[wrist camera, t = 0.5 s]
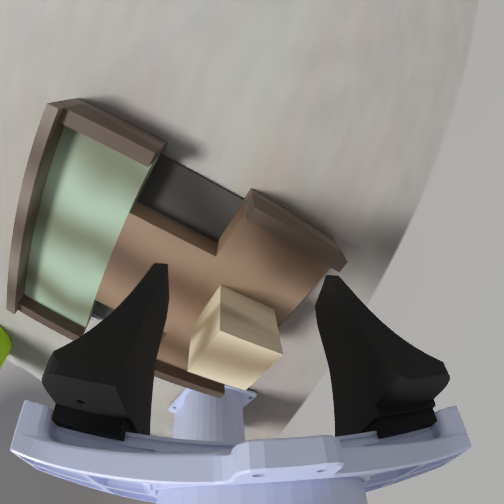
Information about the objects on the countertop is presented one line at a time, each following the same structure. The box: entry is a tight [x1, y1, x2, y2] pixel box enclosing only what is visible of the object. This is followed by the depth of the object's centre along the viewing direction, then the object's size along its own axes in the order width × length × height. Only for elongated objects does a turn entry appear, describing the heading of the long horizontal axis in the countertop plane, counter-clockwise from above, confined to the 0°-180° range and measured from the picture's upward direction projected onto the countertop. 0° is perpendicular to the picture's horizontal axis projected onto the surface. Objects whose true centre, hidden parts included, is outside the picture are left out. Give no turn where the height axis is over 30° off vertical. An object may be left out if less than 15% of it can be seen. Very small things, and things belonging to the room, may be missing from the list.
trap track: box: [7, 98, 347, 398], centre depth 23 cm, size 19×23×4 cm
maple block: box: [187, 285, 283, 390], centre depth 23 cm, size 5×5×5 cm
